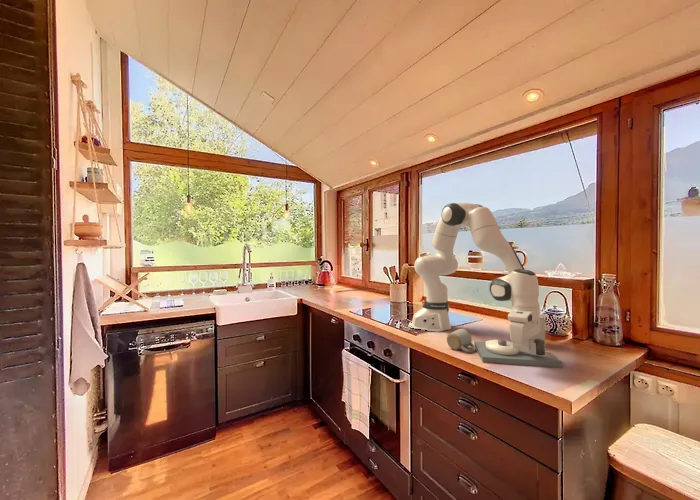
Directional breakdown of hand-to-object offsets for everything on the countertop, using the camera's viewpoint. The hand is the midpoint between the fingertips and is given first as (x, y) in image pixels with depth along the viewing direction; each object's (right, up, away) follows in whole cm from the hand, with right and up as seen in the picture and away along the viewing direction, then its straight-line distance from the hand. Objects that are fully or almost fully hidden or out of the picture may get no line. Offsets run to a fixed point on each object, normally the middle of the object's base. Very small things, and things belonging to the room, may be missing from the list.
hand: (527, 350), depth 107 cm
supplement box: (+14, -4, +19) cm, 25 cm away
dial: (-2, -2, +5) cm, 6 cm away
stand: (-1, -4, +7) cm, 8 cm away
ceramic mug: (-18, -5, +16) cm, 25 cm away
